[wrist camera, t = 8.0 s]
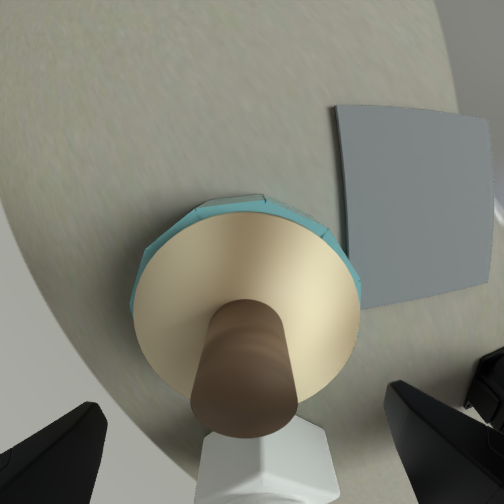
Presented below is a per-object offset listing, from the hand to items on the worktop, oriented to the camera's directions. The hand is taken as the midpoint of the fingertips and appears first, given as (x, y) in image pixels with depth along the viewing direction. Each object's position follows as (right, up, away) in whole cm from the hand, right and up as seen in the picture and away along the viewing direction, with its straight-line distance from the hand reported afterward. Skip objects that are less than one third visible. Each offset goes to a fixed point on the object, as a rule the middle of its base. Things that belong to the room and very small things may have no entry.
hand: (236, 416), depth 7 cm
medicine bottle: (+1, -10, +13) cm, 17 cm away
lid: (0, +1, +6) cm, 6 cm away
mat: (+12, +8, +8) cm, 16 cm away
